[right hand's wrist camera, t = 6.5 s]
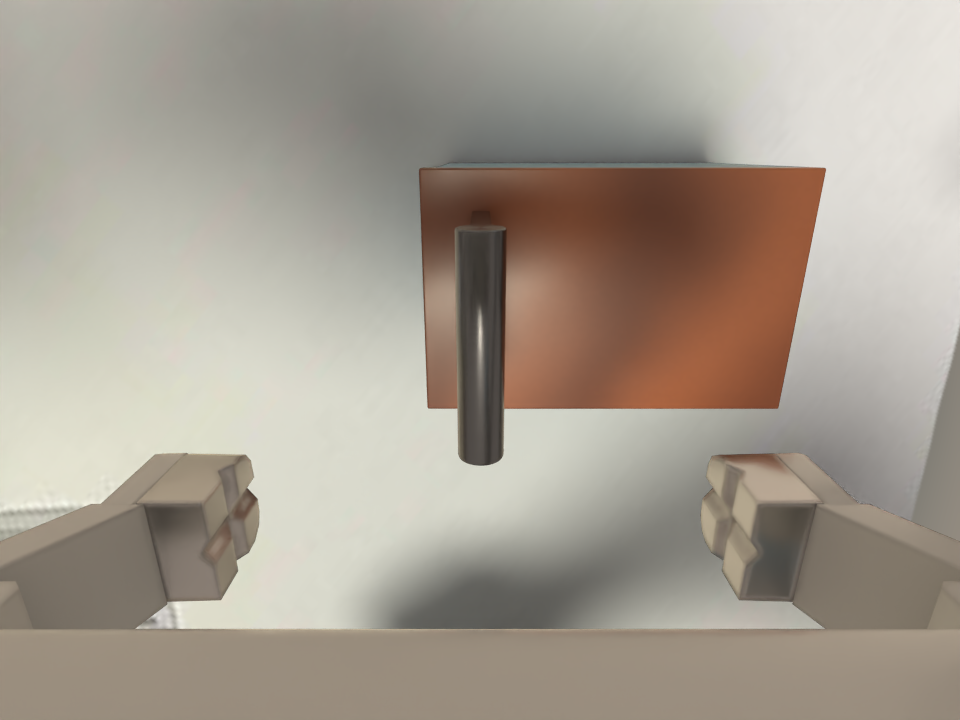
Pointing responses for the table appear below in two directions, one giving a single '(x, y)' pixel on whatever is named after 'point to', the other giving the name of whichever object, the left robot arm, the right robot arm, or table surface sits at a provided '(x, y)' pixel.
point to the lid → (609, 289)
